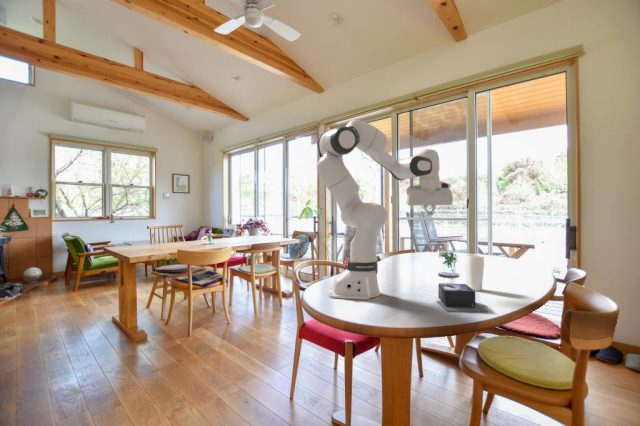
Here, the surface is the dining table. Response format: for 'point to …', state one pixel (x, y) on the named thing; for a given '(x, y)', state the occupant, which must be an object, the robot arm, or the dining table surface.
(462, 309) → the mat
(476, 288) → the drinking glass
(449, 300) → the small box
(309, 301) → the dining table surface
